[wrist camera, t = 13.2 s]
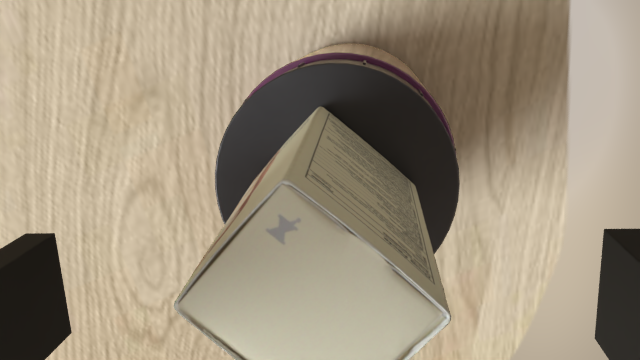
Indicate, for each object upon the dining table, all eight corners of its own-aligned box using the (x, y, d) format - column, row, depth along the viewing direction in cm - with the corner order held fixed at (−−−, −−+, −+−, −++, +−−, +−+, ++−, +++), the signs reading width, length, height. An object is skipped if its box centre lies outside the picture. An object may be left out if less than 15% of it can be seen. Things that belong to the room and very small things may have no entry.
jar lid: (453, 54, 24) (461, 57, 21) (450, 274, 26) (457, 299, 24) (219, 63, 24) (203, 67, 22) (237, 275, 27) (225, 299, 25)
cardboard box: (248, 184, 23) (157, 301, 13) (321, 101, 22) (279, 162, 12) (347, 269, 24) (327, 439, 14) (423, 191, 23) (460, 318, 13)
